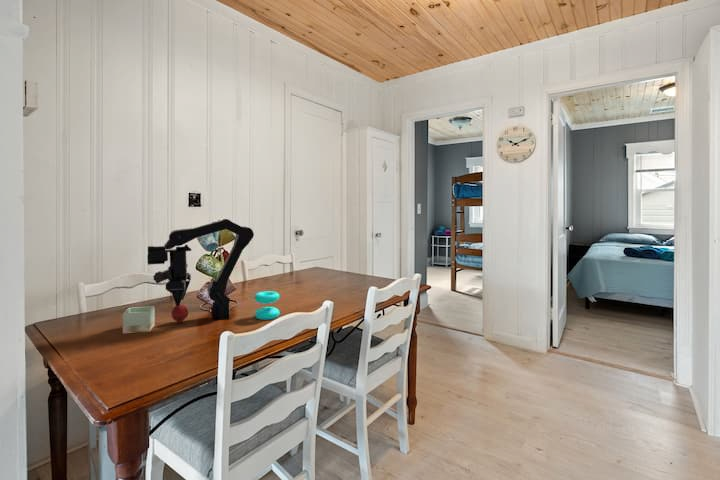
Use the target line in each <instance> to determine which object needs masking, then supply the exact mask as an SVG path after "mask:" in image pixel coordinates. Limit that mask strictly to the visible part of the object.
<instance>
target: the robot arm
mask: <svg viewBox="0 0 720 480" xmlns="http://www.w3.org/2000/svg"><path fill="white" fill-rule="evenodd" d="M224 230H227V231H228V232H231V233H233V234H235V236H234V240H233V246H232V247H231V250H230V251H229V253H228V255H227V257H226V259H225V261H224V263H223V265H222V267H221V270H220V271H219V274H218V276H217V277H215V278H210V281H209V284H208V285H207V286H206V288H207V291H206V292H207V295H208V297H209V299H210V300H211V301H213V302H212V305H211V308H210V313H211V316H210V317H211V318H212V320H213V321H214V320H228V319H230V318H231V313H230V311H231V310H230V309H231V308H230V307H231V306H230V302H231V298H230V297H229V296H228V294H226V290H227V286H228V281H229V279H230V278H231V275H232V273H233V271H234V269H235V266H236V264H237V262H238V260H239V259H240V257H241V255H242V253H243V251H244V249H245V248H246V247H247V246H249V244H250V242H251V241H252V240H253V238H254V236H255V235H254V231H253V229H252V228H251V227H247V226H241V225H239V224H237V223H235V222H233V221H231V220H230V219H228V218H223V219H220V220H218V221H215V222H210V223H208V224H203V225H200V226H197V227H194V228H193V227H192V228H181V229H175V230H172V231H170V233H169V236H168V240H167V241H166V243H164V245H162V246H157V245H156V246H153V245H152V246H151V245H149V246H147V256H146V257H147V265H165V264H166V263H165V262H168V261H169V266H168V268H167V269H166V270H162V271H158V272H157V271H156V272H155V273H154V275H152V277H153V281H155V283H156V284H159V283H161V282H164V281H167V280H168V281H167V282H166V283H165V290H166V291H167V292H169V293H171V294H172V297H173V301H174V303H175V306H179V305H180V302H181V303H182V301H183V300H184V298H185V296H186V293H187V290H188V288H189V285H190V283H191V280H192V275H191V274H190V273H189V272H188V270H187V269H188V263H187V252H191V251H192V248H191V247H189V246H188V244H187V243H189V242H191V241H193V240H194V239H197V238H200V237H203V236H206V235H210V234H213V233H217V232H221V231H224ZM182 245H184V246H182ZM173 248H174V249H173ZM168 253H169V255H168Z"/></svg>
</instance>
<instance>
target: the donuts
mask: <svg viewBox="0 0 720 480" xmlns="http://www.w3.org/2000/svg"><path fill="white" fill-rule="evenodd" d="M279 299H280V293H279V292H276V291H273V290H271V291H267V290H265V291H259V292H257V293H255V295H254V300H255V302H256V303H259V304H265V305H266V304H272V303H275V302H278V301H279ZM254 316H255V318H256V319H258V320H261V321H262V320H263V321H264V320H265V321H268V320H269V321H270V320H274V319H276V318H278V317H279V316H280V310H279V309H278V308H277V307H274V306H263V307H260V308H258V309H257V310H256V311H255V312H254Z"/></svg>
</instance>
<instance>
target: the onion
mask: <svg viewBox="0 0 720 480" xmlns="http://www.w3.org/2000/svg"><path fill="white" fill-rule="evenodd" d="M188 316H189V310H188V308H187V307H186V306H185V305H184V304H183V303H182V301H181V302H180V305H179V306H176V305H175V306H174V307H173V308H172V309H171V318H172V319H173V320H174V321H175V322H178V323H179V324H180V323H182V322H184V321H185V320H186V319H187V317H188Z"/></svg>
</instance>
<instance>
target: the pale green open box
mask: <svg viewBox="0 0 720 480" xmlns="http://www.w3.org/2000/svg"><path fill="white" fill-rule="evenodd" d="M155 310H156V309H155V305H150V306H135V307H128V308H127V309H126V310H124V312H123V313H122V327H123V326H134V325H147V324H151V322H152V321H153V319H154V318H155V319H156V315H155V313H156V311H155Z"/></svg>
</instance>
